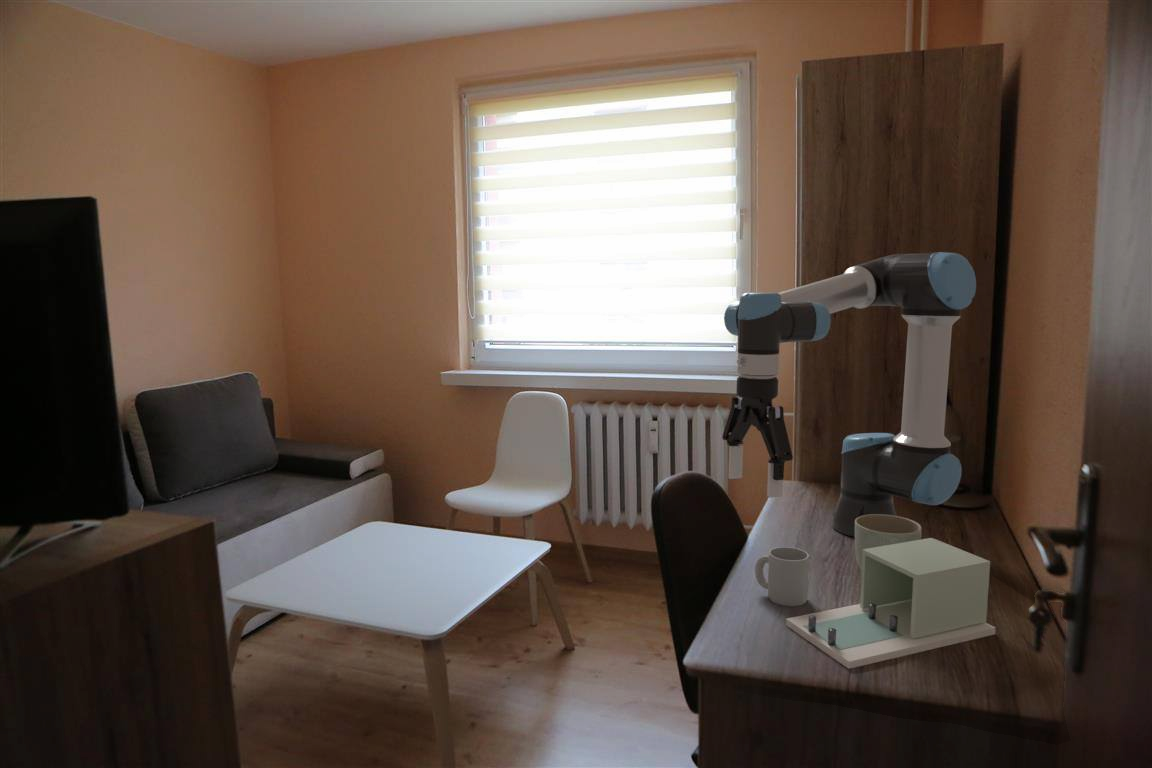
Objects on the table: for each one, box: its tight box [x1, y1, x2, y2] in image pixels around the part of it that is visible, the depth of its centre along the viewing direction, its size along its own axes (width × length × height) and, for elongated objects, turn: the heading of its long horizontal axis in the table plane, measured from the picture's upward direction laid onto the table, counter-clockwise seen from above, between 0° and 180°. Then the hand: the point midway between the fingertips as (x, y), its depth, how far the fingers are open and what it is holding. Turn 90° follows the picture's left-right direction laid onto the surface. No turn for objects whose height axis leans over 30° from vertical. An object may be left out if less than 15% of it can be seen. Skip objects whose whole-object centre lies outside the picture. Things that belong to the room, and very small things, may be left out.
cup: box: [754, 546, 810, 608], centre depth 143 cm, size 7×10×9 cm
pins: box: [808, 603, 898, 646], centre depth 127 cm, size 14×6×2 cm, turn 111°
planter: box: [854, 514, 922, 570], centre depth 153 cm, size 12×12×11 cm
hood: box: [859, 537, 991, 638], centre depth 132 cm, size 16×13×11 cm
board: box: [785, 599, 996, 669], centre depth 130 cm, size 30×16×1 cm, turn 111°
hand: (754, 487), depth 144 cm, fingers open, 13 cm apart
